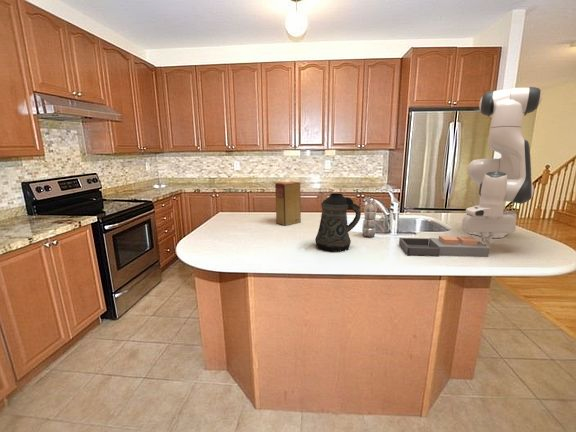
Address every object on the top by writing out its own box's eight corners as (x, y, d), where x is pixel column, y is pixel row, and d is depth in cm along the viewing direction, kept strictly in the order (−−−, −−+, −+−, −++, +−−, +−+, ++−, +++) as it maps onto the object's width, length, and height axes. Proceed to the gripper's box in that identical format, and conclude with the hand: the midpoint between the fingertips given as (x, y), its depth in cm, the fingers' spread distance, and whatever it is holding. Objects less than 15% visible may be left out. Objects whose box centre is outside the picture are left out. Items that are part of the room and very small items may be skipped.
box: (399, 244, 140) (399, 237, 139) (427, 245, 139) (428, 238, 138) (407, 255, 127) (407, 247, 126) (439, 256, 125) (439, 248, 124)
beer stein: (309, 243, 144) (309, 192, 138) (344, 238, 150) (345, 190, 145) (325, 254, 129) (326, 198, 123) (363, 248, 135) (365, 195, 130)
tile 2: (456, 240, 133) (456, 235, 132) (470, 240, 132) (470, 236, 131) (462, 244, 127) (462, 240, 126) (477, 245, 126) (477, 240, 126)
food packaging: (291, 219, 191) (291, 181, 185) (301, 222, 184) (301, 182, 178) (275, 223, 183) (274, 182, 177) (284, 226, 176) (284, 184, 170)
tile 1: (438, 240, 134) (439, 235, 133) (452, 240, 133) (453, 235, 132) (443, 244, 128) (444, 239, 127) (458, 244, 127) (459, 240, 127)
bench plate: (428, 246, 138) (429, 238, 137) (474, 247, 135) (475, 239, 134) (438, 255, 126) (439, 246, 125) (488, 256, 124) (489, 247, 123)
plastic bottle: (360, 236, 154) (361, 198, 149) (366, 233, 159) (368, 196, 154) (371, 239, 149) (373, 200, 145) (377, 236, 154) (380, 198, 149)
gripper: (512, 209, 127) (507, 240, 130) (462, 208, 129) (458, 239, 132) (521, 212, 121) (516, 244, 124) (469, 211, 123) (464, 243, 126)
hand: (485, 241), depth 128 cm, fingers closed
